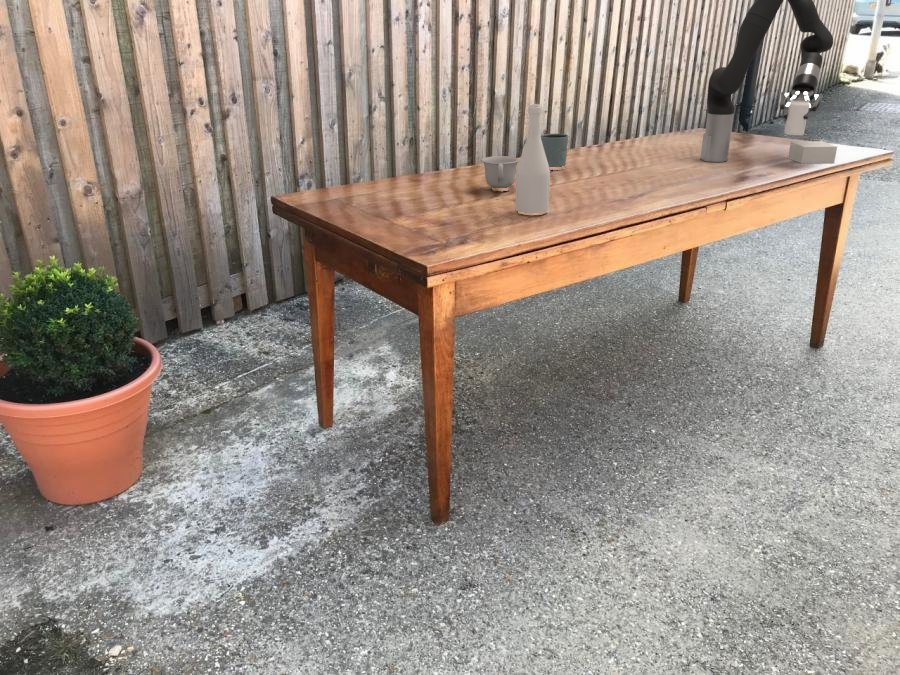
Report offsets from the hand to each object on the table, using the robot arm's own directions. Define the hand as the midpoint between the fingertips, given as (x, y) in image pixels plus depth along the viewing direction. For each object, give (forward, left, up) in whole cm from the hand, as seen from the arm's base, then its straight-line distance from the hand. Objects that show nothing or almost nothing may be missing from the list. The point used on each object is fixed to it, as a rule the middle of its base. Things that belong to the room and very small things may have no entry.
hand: (794, 118), depth 254 cm
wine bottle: (-97, -61, -17) cm, 116 cm away
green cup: (-84, +3, -17) cm, 86 cm away
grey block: (+14, +12, -17) cm, 25 cm away
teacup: (-105, -33, -17) cm, 111 cm away
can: (+1, +1, -6) cm, 6 cm away
